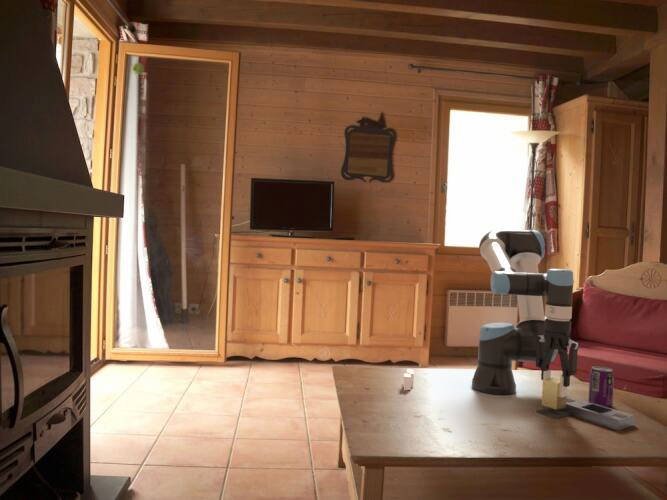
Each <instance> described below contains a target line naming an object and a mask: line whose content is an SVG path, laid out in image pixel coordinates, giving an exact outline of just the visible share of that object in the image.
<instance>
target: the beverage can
mask: <svg viewBox="0 0 667 500" xmlns="http://www.w3.org/2000/svg"><path fill="white" fill-rule="evenodd" d="M613 371H614V370H613V369H612V368H609V367H605V366H591V370H590V372H589V381H588V382H589V385H588V402H591V403H594V404H598V405H601V406H605V407H608V408H609V407H611V406H613V403H614V402H613V401H614V399H613V398H614V381H615V375H614V373H613Z"/></svg>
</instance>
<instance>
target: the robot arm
mask: <svg viewBox="0 0 667 500" xmlns="http://www.w3.org/2000/svg"><path fill="white" fill-rule="evenodd" d="M545 248H546V243H545V239H544V236H543V234H542V233H541V232H540V231H538V230H536V229H528V228H527V229H518V228H517V229H513V228H512V229H511V228H497V229H493V230H490V231H489V232H488V233H486V234H484V236H482V238H481V240H480V241H479V245H478V250H479V254H480V255H481V257H482V258H483V259H484V260H485V261H486V262H487V264H488V267H489V268H490V271H491V275H490V290H491V292H492V293H493V294H496V295H502V296H506V295H509V296H510V295H511V296H517V304H518V316H519V322H517V323H516V325H514V324H513V323H510V322H491V323H485V324H483V325H482V326H481V327H479V332H478V333H479V334H478V338H477V339H478V349H477V351H478V352H477V354H478V356H477V366H476V369H475V372H474V374H473V378H472V380H471V388H472V389H474V390H475V391H478V392H481V393H485V394H491V395H505V396H506V395H512V394H515V393H516V392H517V384H516V382H515V378H514V373H513V370H512V369H513V368H512V367H513V362H525V363H528V362H529V363H535V367H536V368H538V369H540V372H541V375H540V378H541V381H543V379H547V378H552V377H551V375H552V374H551V373H552V370H550V369H551V368H550V365H551V362H553V361H554V360H555V358H556V356H557V354H558V355H559V360H560V366H561V372H562V373H561V375H560V376H559V379H560V393H559V397H565V396H568V393H567V392H568V387H570V384H571V383H570V381H571V376H576V375H577V373H578V350H579V347H580V342H575V341H574V340H572V337H571V331H572V321H571V320H572V317H573V316H572V315H573V314H572V313H573V293H574V292H573V291H574V283H575V281H574V272H573V271H572V270H571V269H564V268H549V269H547V270H546V271H547V272H541V273H540V272H539V264H540V263H541V261H542V259H543V258H544V256H545V254H546V249H545ZM543 297H545V308H544V302H543ZM544 309H545V310H544ZM568 347H569V349H568Z"/></svg>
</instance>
